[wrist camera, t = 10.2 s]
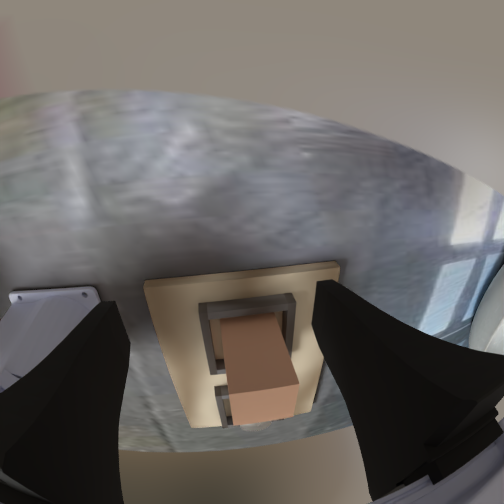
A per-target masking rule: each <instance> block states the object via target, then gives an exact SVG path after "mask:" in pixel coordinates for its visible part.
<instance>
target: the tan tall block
mask: <svg viewBox="0 0 504 504" xmlns="http://www.w3.org/2000/svg"><path fill="white" fill-rule="evenodd" d="M220 327H221V336H222V345H223V354H224V362H225V370H226V377H227V385H228V392H229V399H230V406H231V413H232V419H233V426H236V425H244V424H252V423H259V422H266V421H272V420H278V419H284V418H289V417H293V414H294V410H295V405H296V400H297V395H298V390H299V385H300V383H299V380H298V378H297V375H296V372H295V369H294V366H293V364H292V361H291V358H290V355H289V352H288V350H287V347H286V344H285V341H284V339H283V336H282V333H281V330H280V327H279V325H278V322H277V319H276V316H275V313H274V312H271V313H263V314H256V315H247V316H239V317H230V318H220Z"/></svg>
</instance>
